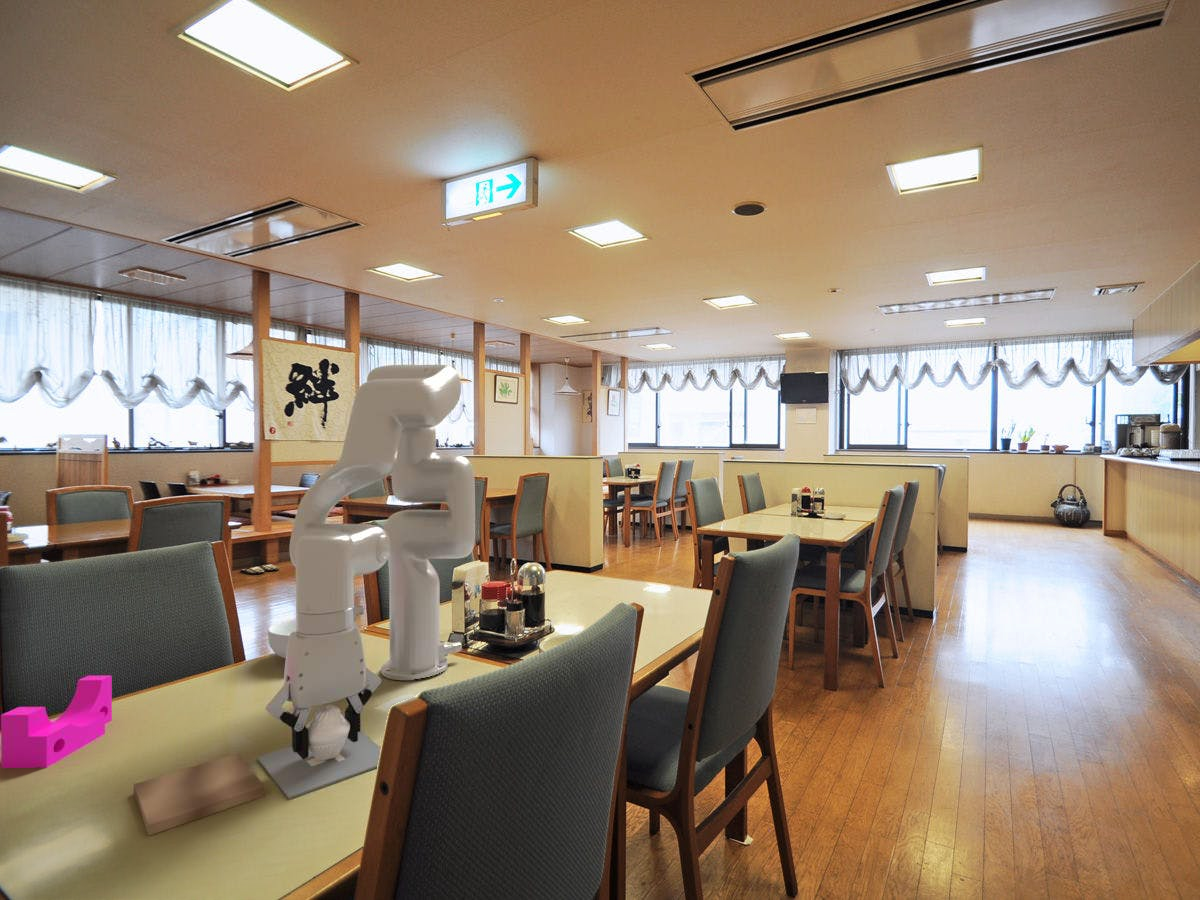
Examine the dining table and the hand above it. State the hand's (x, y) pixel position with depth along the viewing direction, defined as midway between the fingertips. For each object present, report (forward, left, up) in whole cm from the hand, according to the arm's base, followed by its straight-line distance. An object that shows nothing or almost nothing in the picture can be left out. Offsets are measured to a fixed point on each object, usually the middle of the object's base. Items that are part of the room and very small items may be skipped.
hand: (327, 745), depth 89 cm
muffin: (0, 0, -1) cm, 1 cm away
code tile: (0, 0, -2) cm, 2 cm away
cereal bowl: (-14, -47, -2) cm, 49 cm away
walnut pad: (+15, -2, -2) cm, 15 cm away
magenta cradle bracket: (+26, -32, -2) cm, 41 cm away
